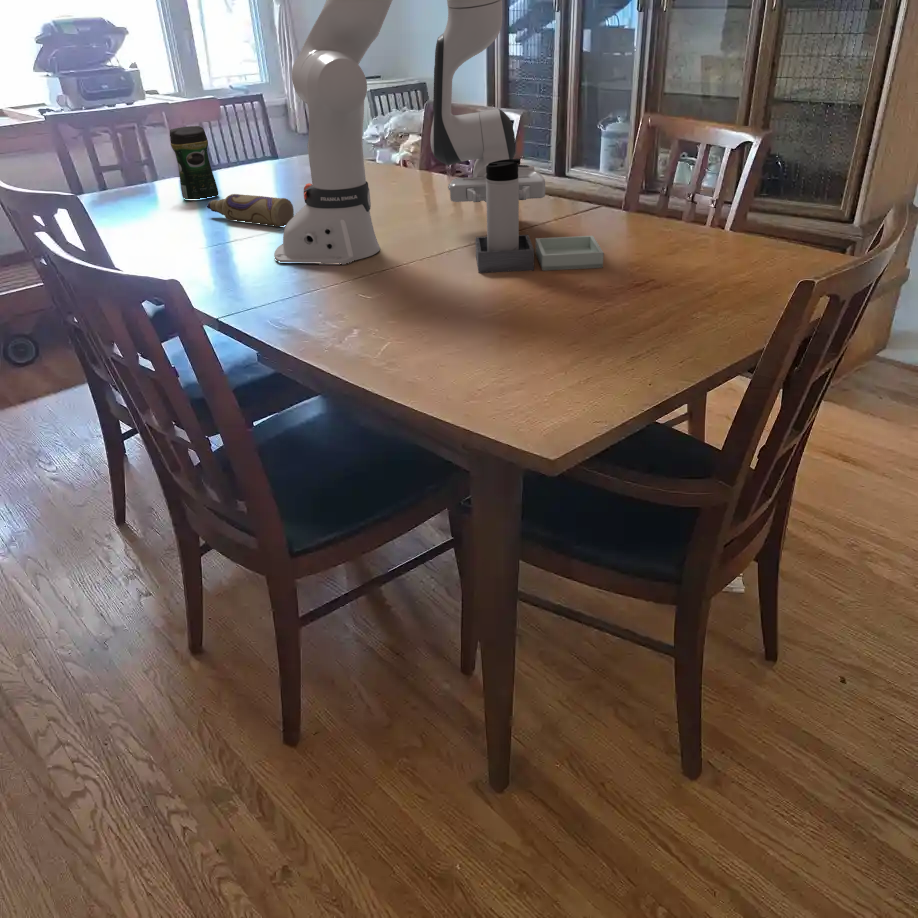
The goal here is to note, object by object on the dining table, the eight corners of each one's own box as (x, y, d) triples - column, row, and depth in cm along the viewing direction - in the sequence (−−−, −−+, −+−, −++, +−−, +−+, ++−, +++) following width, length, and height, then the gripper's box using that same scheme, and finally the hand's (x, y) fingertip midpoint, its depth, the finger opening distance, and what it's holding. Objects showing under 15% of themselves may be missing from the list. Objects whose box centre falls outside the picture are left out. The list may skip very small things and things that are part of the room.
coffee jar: (214, 192, 226) (200, 122, 216) (222, 198, 220) (208, 126, 210) (179, 198, 222) (164, 127, 212) (186, 203, 216) (171, 130, 206)
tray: (542, 270, 156) (542, 255, 154) (535, 252, 166) (535, 238, 164) (602, 267, 156) (603, 252, 154) (592, 249, 166) (592, 235, 164)
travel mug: (518, 268, 157) (518, 162, 147) (485, 267, 159) (482, 162, 148) (522, 258, 163) (522, 156, 152) (490, 258, 164) (488, 156, 153)
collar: (478, 272, 156) (478, 252, 154) (475, 256, 165) (475, 237, 163) (533, 270, 156) (534, 250, 154) (528, 253, 165) (528, 234, 163)
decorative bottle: (298, 223, 194) (294, 195, 191) (277, 231, 189) (272, 202, 185) (222, 213, 206) (217, 186, 202) (200, 220, 201) (194, 193, 197)
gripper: (447, 169, 173) (448, 183, 161) (540, 165, 173) (549, 179, 161) (448, 199, 176) (449, 215, 164) (540, 195, 176) (548, 210, 164)
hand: (499, 197), depth 163 cm, fingers open, 8 cm apart
